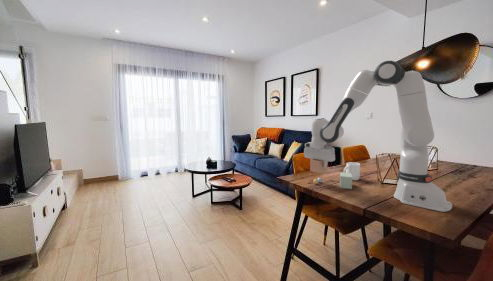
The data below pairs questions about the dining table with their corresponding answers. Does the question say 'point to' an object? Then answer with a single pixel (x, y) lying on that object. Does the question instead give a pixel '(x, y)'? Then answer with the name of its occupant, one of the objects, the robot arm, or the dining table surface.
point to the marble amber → (315, 181)
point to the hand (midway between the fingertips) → (318, 166)
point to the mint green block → (345, 180)
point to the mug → (353, 170)
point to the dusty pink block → (317, 166)
